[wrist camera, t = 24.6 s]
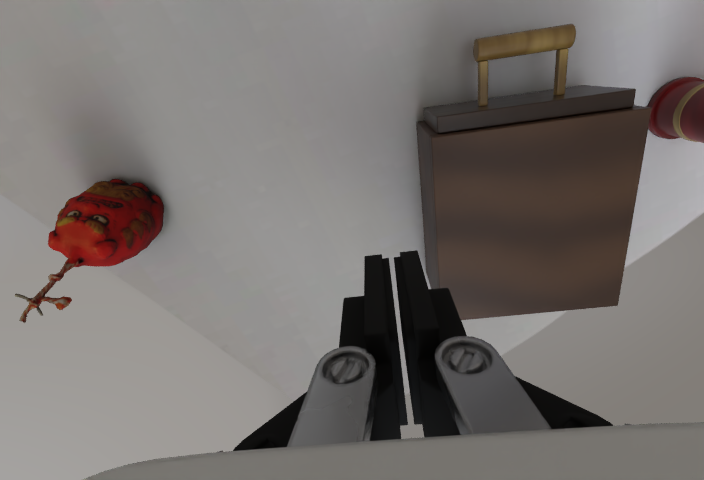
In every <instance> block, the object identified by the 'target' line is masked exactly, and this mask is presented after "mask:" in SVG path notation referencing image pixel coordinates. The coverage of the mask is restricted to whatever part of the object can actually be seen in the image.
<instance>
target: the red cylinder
mask: <svg viewBox="0 0 704 480" xmlns="http://www.w3.org/2000/svg"><path fill="white" fill-rule="evenodd" d="M648 107H650V108H651V114H650V119H649V125H648V128H649V130H650V131H651V132H652V133H653V134H654V135H656V136H658V137H662V138H666V139H676V138H683V139H686V140H690V141H695V142H702V143H704V80H702V79H700V78H696V77H682V78H678V79H675V80H673V81H670V82H669V83H667V84H665V85H664V86H663V87H662V88H660V89H659V90H658V91H657V92H656V93H655V95H654V96H653V97H652V99H651V101H650V103H649V105H648Z"/></svg>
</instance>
